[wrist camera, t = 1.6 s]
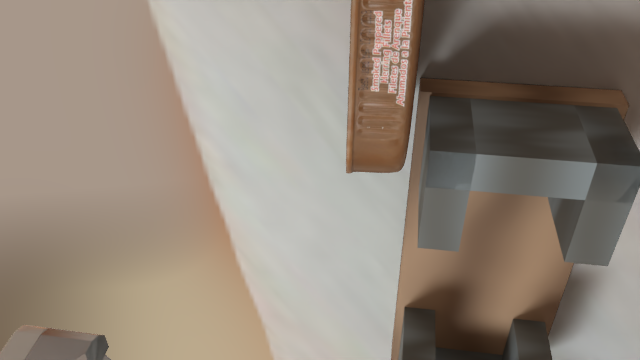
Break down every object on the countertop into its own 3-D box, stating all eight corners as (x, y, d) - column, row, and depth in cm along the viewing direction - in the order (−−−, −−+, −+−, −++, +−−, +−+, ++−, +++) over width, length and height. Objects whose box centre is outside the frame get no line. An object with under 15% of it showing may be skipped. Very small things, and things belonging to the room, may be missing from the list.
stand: (621, 90, 30) (661, 164, 25) (530, 360, 43) (544, 445, 38) (420, 77, 31) (418, 145, 26) (392, 344, 44) (387, 425, 39)
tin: (362, -209, 24) (337, -189, 17) (441, -208, 24) (446, -187, 17) (350, 114, 33) (330, 209, 26) (407, 118, 33) (401, 216, 26)
